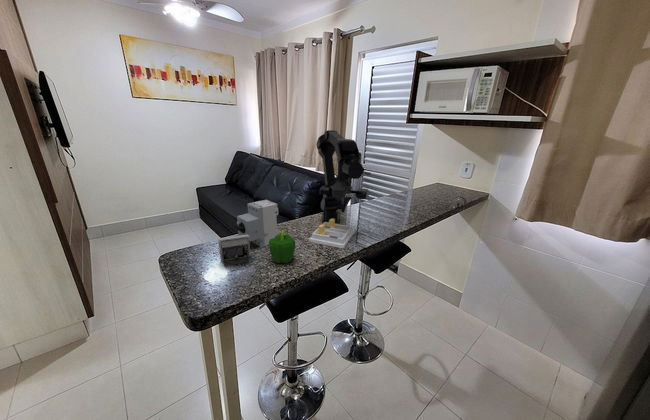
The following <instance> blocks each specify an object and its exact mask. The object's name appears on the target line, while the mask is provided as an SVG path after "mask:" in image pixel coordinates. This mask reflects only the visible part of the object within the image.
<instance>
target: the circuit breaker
mask: <svg viewBox="0 0 650 420" xmlns="http://www.w3.org/2000/svg"><path fill="white" fill-rule="evenodd" d="M278 215H279V207H278V203H275V202H273V201H270V200H268V199H264V200H258V201H254V202H249V203H247V213H244V214H241V215H237V216H236V219H237V221H236V225H237V226H235V230H237V231H238V232H237V233H238V236H241V235H249V237H250V240H249V242H250V243H251V242H252V243H253V244H255V245H257V246H258V247H260V248H264V247H266V246H269V241H270V239H272V238H275V236H277V235H278V234H280V230H279V229H278V224H277V221H278V220H277V217H278Z"/></svg>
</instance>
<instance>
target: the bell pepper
mask: <svg viewBox="0 0 650 420" xmlns="http://www.w3.org/2000/svg"><path fill="white" fill-rule="evenodd" d="M285 233H286V229H282V230H281V234H280V233H279V234H278V235H277V236H275V238H272V239H270V241H269V245H268V246H269V254H270V256H271V258H272V260H273V262H275V263H276V264H281V263H283V264H284V263H285V264H286V263H287V264H288V263H289V262H291V261H292V259H293V258H294V255H295V250H296V241H295V239H294V238H293V237H292V236H291V235H290V234H288V233H287V234H285Z"/></svg>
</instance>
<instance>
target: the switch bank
mask: <svg viewBox="0 0 650 420" xmlns="http://www.w3.org/2000/svg"><path fill="white" fill-rule="evenodd" d="M322 225H325V231H326V235H323V234H317V232H318V228H316V230H314V231H313V232H312V233H311V237H309V238H308V242H309V243H310V242H311V243H314V244H319V245H324V246H328V247H329V246H330V247H335V248H338V249H339V248H340V249H345V247H346V246H347V244H348V243H349V242H348V241H350V240H351V239H352V237H353V236H354V235H355V233H356V230H355V229H354V226H351V225H346V224H341V223H335V225H336V228H332V227H328V225H329V222H322ZM354 232H355V233H354ZM353 234H354V235H353ZM352 235H353V236H352ZM350 238H351V239H350Z"/></svg>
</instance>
